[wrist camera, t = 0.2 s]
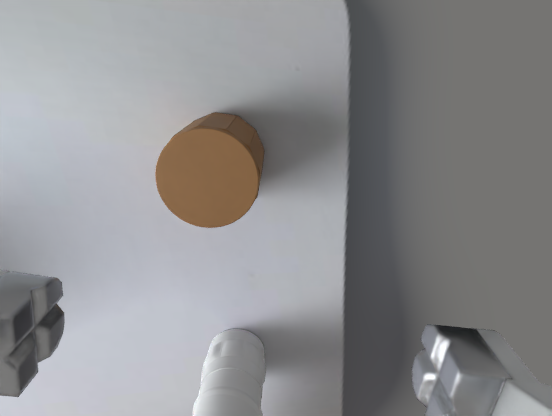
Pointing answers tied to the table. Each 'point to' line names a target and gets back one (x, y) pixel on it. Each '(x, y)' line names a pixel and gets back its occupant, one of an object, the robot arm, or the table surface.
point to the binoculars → (232, 376)
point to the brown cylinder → (211, 170)
